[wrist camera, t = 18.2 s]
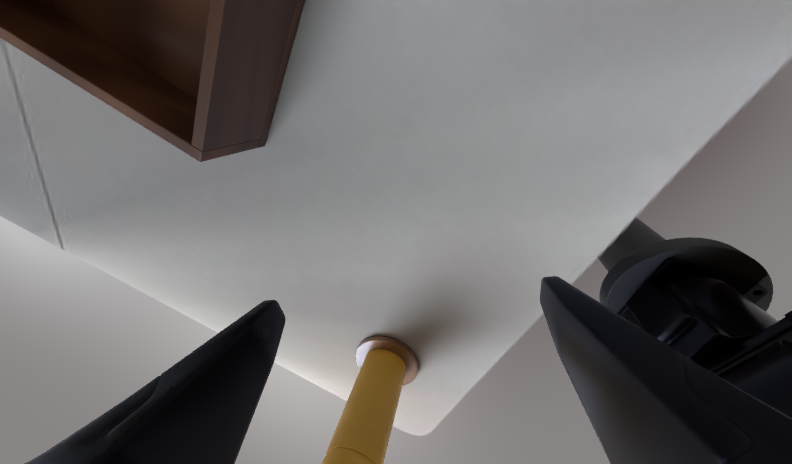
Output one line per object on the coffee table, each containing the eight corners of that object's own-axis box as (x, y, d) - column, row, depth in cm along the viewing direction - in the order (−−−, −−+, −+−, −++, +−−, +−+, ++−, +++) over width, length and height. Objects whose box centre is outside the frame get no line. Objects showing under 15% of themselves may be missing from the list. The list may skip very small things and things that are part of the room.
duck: (393, 345, 29) (345, 497, 18) (413, 376, 30) (379, 535, 19) (347, 354, 31) (279, 493, 20) (367, 382, 33) (314, 526, 22)
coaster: (426, 351, 29) (425, 355, 28) (408, 389, 32) (407, 394, 32) (363, 327, 30) (361, 331, 29) (352, 367, 33) (350, 371, 33)
